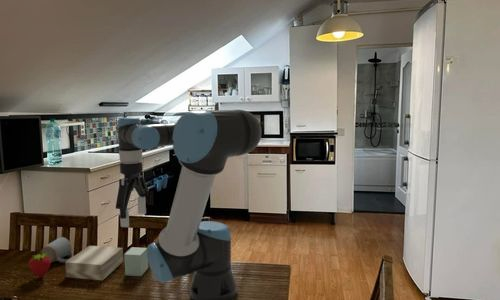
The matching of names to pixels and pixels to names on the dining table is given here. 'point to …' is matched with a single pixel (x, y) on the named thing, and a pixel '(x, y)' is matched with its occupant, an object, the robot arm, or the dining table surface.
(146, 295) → the dining table surface
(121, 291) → the dining table surface
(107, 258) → the birch block
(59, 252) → the ceramic mug
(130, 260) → the sage block
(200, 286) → the robot arm
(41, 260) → the strawberry
